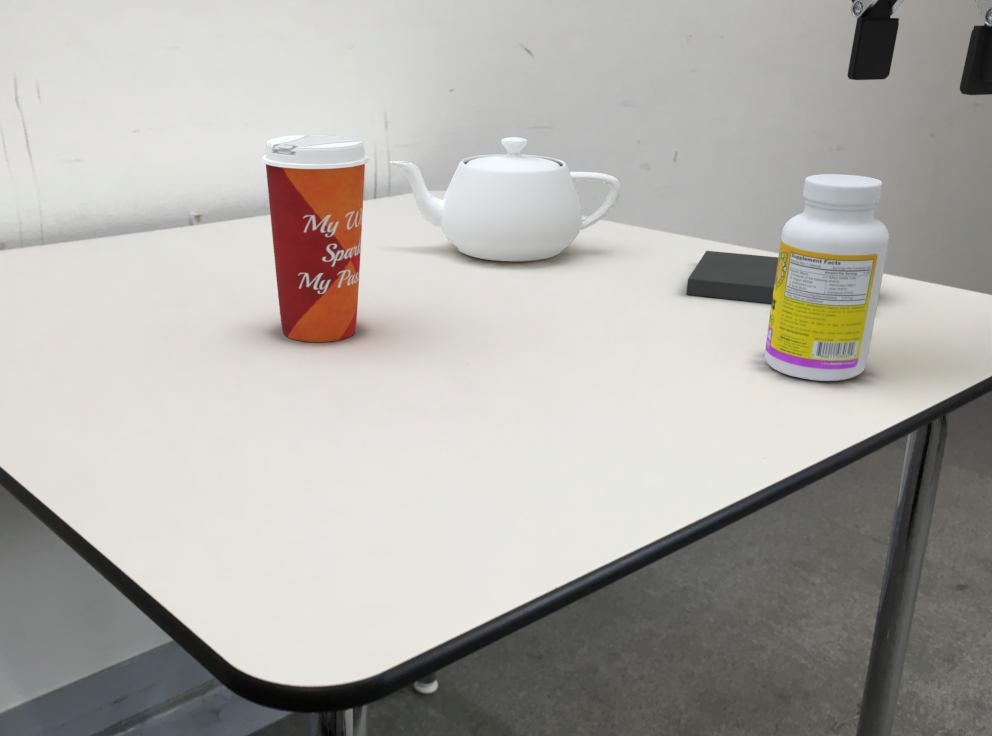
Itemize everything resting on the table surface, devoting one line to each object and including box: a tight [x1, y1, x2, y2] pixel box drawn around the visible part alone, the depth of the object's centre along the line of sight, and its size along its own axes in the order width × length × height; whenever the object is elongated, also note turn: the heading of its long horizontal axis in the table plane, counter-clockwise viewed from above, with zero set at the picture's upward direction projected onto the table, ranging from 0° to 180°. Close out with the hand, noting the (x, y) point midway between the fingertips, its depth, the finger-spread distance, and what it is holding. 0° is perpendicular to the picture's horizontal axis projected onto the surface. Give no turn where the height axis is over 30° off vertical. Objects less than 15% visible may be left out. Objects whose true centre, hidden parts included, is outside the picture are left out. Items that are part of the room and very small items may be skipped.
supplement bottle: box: [764, 173, 890, 382], centre depth 73 cm, size 7×7×13 cm
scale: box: [685, 250, 778, 305], centre depth 94 cm, size 15×11×3 cm
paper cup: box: [260, 134, 370, 343], centre depth 80 cm, size 8×8×14 cm
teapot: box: [388, 136, 621, 262], centre depth 104 cm, size 22×14×11 cm, turn 88°
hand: (921, 86), depth 72 cm, fingers open, 9 cm apart
